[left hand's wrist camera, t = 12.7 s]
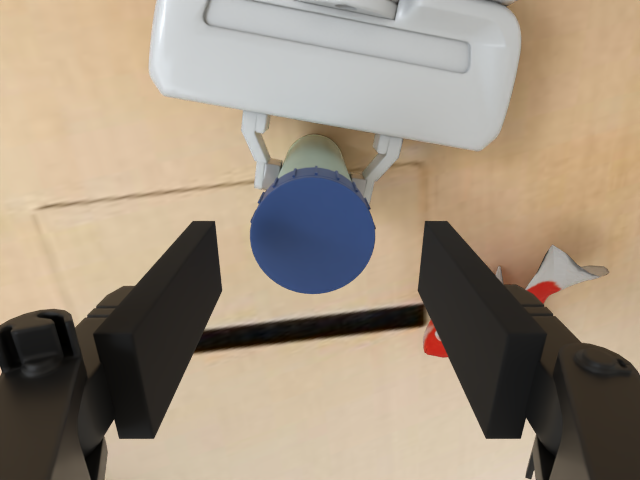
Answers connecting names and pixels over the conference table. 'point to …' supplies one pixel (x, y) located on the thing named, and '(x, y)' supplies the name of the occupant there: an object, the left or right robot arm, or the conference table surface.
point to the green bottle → (314, 155)
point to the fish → (533, 287)
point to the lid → (312, 231)
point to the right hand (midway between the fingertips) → (312, 195)
